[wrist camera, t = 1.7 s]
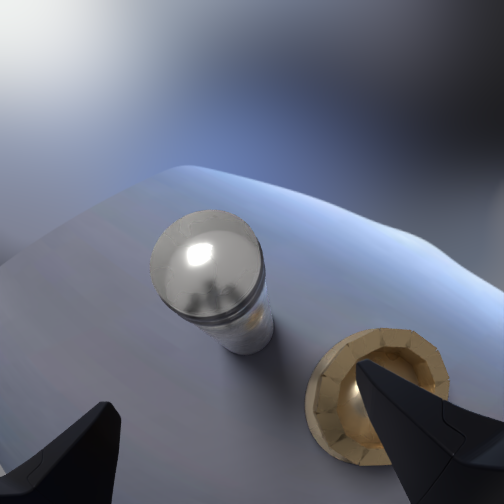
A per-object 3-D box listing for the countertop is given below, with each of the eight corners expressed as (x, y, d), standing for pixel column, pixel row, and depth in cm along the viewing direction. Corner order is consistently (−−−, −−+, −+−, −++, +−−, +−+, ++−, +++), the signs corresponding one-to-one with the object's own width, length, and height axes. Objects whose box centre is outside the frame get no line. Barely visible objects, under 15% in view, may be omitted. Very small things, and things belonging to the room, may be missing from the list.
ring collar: (446, 418, 15) (470, 419, 12) (330, 481, 15) (338, 498, 11) (402, 310, 20) (420, 295, 17) (284, 364, 20) (284, 359, 16)
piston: (283, 344, 20) (280, 289, 10) (225, 364, 20) (159, 331, 10) (263, 290, 22) (240, 193, 12) (208, 310, 22) (141, 230, 12)
